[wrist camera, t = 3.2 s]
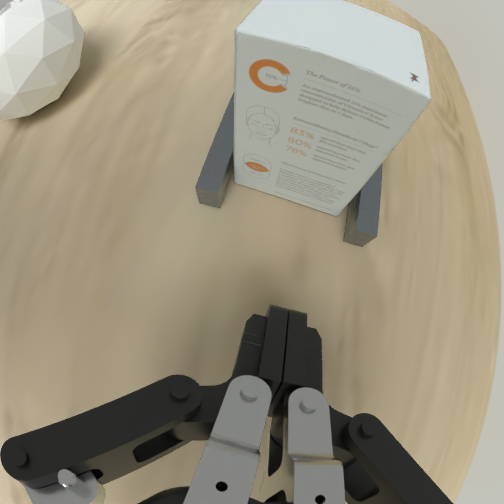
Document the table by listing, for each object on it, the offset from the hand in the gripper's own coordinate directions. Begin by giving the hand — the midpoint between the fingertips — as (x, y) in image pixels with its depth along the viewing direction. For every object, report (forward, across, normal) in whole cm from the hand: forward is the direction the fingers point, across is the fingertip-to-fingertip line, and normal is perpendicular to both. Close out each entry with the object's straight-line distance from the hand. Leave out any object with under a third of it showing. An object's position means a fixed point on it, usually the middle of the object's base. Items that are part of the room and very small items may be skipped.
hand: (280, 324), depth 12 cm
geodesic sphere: (+16, +29, -6) cm, 33 cm away
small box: (+14, 0, -3) cm, 14 cm away
